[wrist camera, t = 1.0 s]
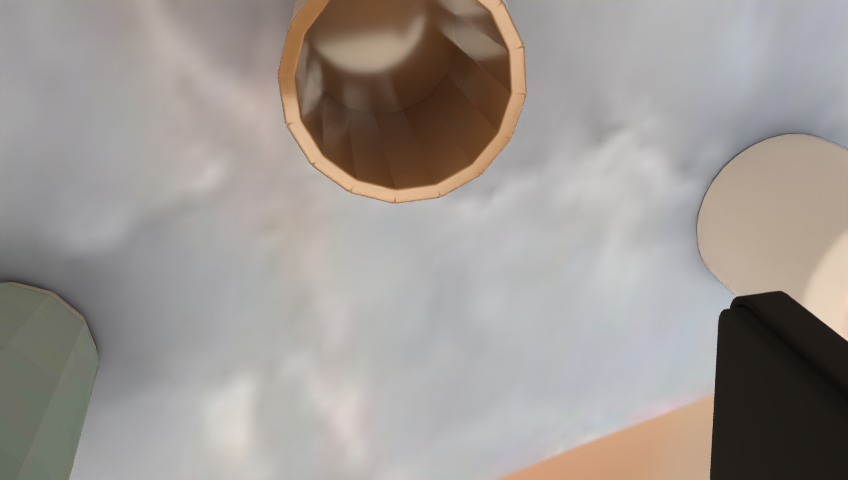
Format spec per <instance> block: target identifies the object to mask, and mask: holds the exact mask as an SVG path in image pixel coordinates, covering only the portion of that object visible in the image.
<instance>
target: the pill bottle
mask: <svg viewBox="0 0 848 480" xmlns="http://www.w3.org/2000/svg"><path fill="white" fill-rule="evenodd" d="M697 241H698V247H699V250H700V254H701V257H702V259H703V261H704V263H705V265H706V266H707V268H708V270H709V271H710V272H711V273H712V274H713V275H714V276H715V277H716V278H717V280H718V281H719V282H721V283H722V284H723V285H724V286H725V287H726V288H727V289H728V290H729V291H731V292H732V293H733V294H734V295H735V296H736V297H737V296H744V295H751V294H758V293H765V292H772V291H783V292H785V293H787V294H788V295H789V296H790V297H792V298H793V299H794V300H796V301H797V302H798V303H799V304H801V305H802V306H803V307H805V308H806V309H807V310H808V311H810V312H811V313H812V314H814V315H815V316H816V317H817V318H819V319H820V320H821V321H822V322H824V323H825V324H826V325H828V326H829V327H830V328H831V329H833V330H834V331H835V332H837V333H838V334H839V335H840V336H842V337H843V338H844V339H845V340H847V341H848V149H845V148H843V147H841V146H838V145H836V144H834V143H831V142H829V141H827V140H824V139H822V138H820V137H816V136H811V135H806V134H785V135H781V136H776V137H772V138H768V139H766V140H764V141H761V142H759V143H757V144H754V145H752V146H751V147H749V148H748V149H746V150H744V151H743V152H741V153H740V154H738V155H737V156H736V157H735V158H734V159H733V160H731V161H730V162H729V163H728V164H727V165H726V166H725V167H724V168H723V169H722V170H721V172H720V173H719V174H718V176H717V177H716V178H715V179H714V181H713V182H712V184H711V186H710V188H709V189H708V191H707V193H706V195H705V197H704V199H703V202H702V205H701V208H700V211H699V216H698V223H697Z"/></svg>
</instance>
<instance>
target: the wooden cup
mask: <svg viewBox="0 0 848 480" xmlns="http://www.w3.org/2000/svg"><path fill="white" fill-rule="evenodd" d="M278 83H279V89H280V95H281V101H282V107H283V113H284V118H285V123H286V125H287V128H288V129H289V131H290V132H291V134H292V136H293V137H294V139H295V140H296V142H297V144H298V145H299V147H300V148H301V150H302V152H303V153H304V155H305V156H306V158H307V159H308V161H309V163H310V164H311V165H312V166H313V167H314V168H316V169H317V170H318V171H320V172H321V173H323V174H324V175H325V176H327V177H328V178H330V179H331V180H332V181H334V182H335V183H337V184H338V185H339V186H341V187H342V188H344V189H345V190H346V191H348V192H350V193H353V194H357V195H361V196H365V197H369V198H373V199H377V200H381V201H385V202H389V203H394V202H395V203H403V202H411V201H418V200H426V199H433V198H439V197H442V196H444V195H446V194H447V193H449V192H451V191H453V190H455V189H457V188H458V187H460V186H462V185H464V184H466V183H467V182H469V181H471V180H473V179H475V178H476V177H478V176H480V174H482V173H483V172H484V171H485V170H486V168H487V167H488V166H489V165H490V164H491V162H492V161H493V160H494V159H495V158H496V157H497V155H498V154H499V153H500V152H501V151H502V149H503V148H504V147H505V146H506V145H507V143H508V142H509V141H510V139H511V138H512V135H513V132H514V129H515V126H516V123H517V120H518V118H519V115H520V112H521V109H522V106H523V103H524V100H525V97H526V72H525V52H524V46H523V42H522V40H521V38H520V36H519V34H518V31H517V29H516V27H515V25H514V23H513V21H512V19H511V17H510V14H509V12H508V10H507V8H506V6H505V4H504V2H502V0H296V2H295V5H294V9H293V13H292V16H291V20H290V24H289V28H288V32H287V36H286V40H285V45H284V49H283V53H282V57H281V62H280V66H279V70H278Z"/></svg>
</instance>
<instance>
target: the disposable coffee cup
mask: <svg viewBox="0 0 848 480" xmlns="http://www.w3.org/2000/svg"><path fill="white" fill-rule="evenodd" d="M98 363H99V356H98V354H97V349H96V346H95V344H94V341H93V339H92V336H91V334H90V331H89V329H88V326H87V324H86V321H85V319H84V317H83V316H82V315H81V314H80V313H78V312H77V311H76V310H75V309H74V308H72V307H71V306H70V305H69V304H67V303H66V302H65V301H64V300H62V299H61V298H60V297H59V296H58V295H56V294H55V293H54V292H52V291H48V290H44V289H40V288H36V287H32V286H28V285H24V284H20V283H16V282H7V283H4V282H3V283H0V480H69V478H70V474H71V470H72V466H73V463H74V459H75V455H76V451H77V447H78V443H79V439H80V435H81V432H82V428H83V424H84V420H85V416H86V412H87V408H88V404H89V400H90V397H91V393H92V388H93V384H94V380H95V376H96V371H97V367H98Z"/></svg>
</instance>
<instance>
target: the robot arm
mask: <svg viewBox="0 0 848 480" xmlns="http://www.w3.org/2000/svg"><path fill="white" fill-rule="evenodd" d="M713 415H714V416H713V432H712V433H713V434H712V450H711V451H712V452H711V469H710V480H848V341H847V340H845V339H844V338H843V337H842V336H840V335H839V334H838V333H837V332H835V331H834V330H833V329H831V328H830V327H829V326H828V325H826V324H825V323H824V322H822V321H821V320H820V319H819V318H817V317H816V316H815V315H814V314H812V313H811V312H810V311H808V310H807V309H806V308H805V307H803V306H802V305H801V304H799V303H798V302H797V301H796V300H794V299H793V298H792V297H790V296H789V295H788V294H787V293H785V292H783V291H772V292H765V293H758V294H751V295H744V296H737V297H736V298H735V299H733V301H732V303H731V306H730V309H724V310H723V311H722V312H721V314H720V316H719V322H718V339H717V358H716V376H715V395H714V413H713Z"/></svg>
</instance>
